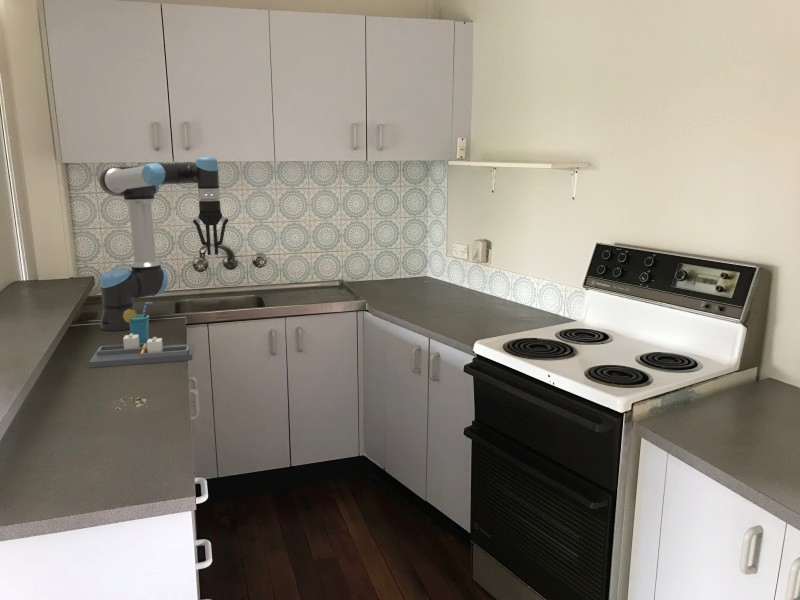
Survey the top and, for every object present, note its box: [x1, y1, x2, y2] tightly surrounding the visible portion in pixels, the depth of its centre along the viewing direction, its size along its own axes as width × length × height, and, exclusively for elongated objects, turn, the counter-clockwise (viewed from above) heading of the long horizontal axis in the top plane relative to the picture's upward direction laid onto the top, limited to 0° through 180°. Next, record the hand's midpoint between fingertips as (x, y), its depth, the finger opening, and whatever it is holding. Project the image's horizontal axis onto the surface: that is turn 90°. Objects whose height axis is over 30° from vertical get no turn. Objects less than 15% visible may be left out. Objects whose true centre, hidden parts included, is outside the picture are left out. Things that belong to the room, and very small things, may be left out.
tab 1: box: [122, 332, 140, 349], centre depth 236 cm, size 4×4×6 cm
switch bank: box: [88, 343, 196, 369], centre depth 234 cm, size 14×33×4 cm, turn 104°
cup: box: [123, 301, 154, 344], centre depth 251 cm, size 14×8×15 cm, turn 157°
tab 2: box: [147, 336, 164, 353], centre depth 231 cm, size 4×4×6 cm
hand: (213, 263), depth 252 cm, fingers closed
